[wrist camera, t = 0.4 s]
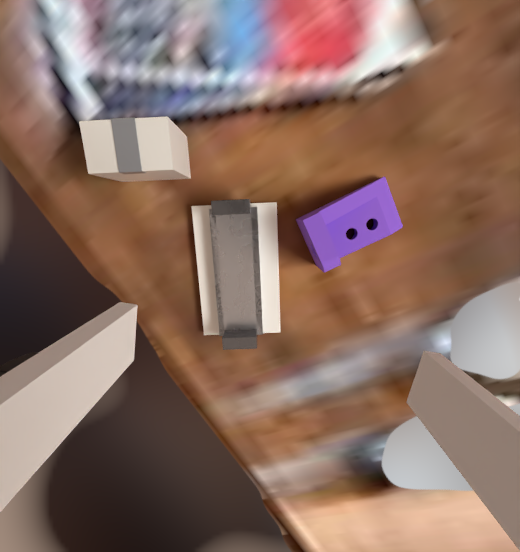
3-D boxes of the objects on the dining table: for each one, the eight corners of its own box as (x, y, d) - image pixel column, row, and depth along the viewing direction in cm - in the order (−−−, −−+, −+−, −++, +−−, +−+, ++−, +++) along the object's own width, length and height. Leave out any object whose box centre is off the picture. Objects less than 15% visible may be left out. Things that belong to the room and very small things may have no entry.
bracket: (315, 264, 37) (326, 275, 31) (295, 219, 36) (302, 220, 29) (397, 226, 36) (427, 229, 29) (379, 178, 35) (407, 169, 28)
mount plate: (193, 206, 35) (191, 206, 34) (276, 202, 35) (276, 202, 34) (205, 332, 39) (204, 335, 38) (280, 329, 39) (280, 332, 38)
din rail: (210, 202, 34) (204, 201, 30) (257, 200, 34) (256, 198, 30) (221, 336, 38) (217, 349, 35) (263, 334, 38) (263, 348, 34)
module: (116, 139, 34) (78, 120, 27) (186, 136, 33) (167, 115, 27) (122, 182, 35) (87, 174, 28) (191, 179, 35) (172, 169, 28)
